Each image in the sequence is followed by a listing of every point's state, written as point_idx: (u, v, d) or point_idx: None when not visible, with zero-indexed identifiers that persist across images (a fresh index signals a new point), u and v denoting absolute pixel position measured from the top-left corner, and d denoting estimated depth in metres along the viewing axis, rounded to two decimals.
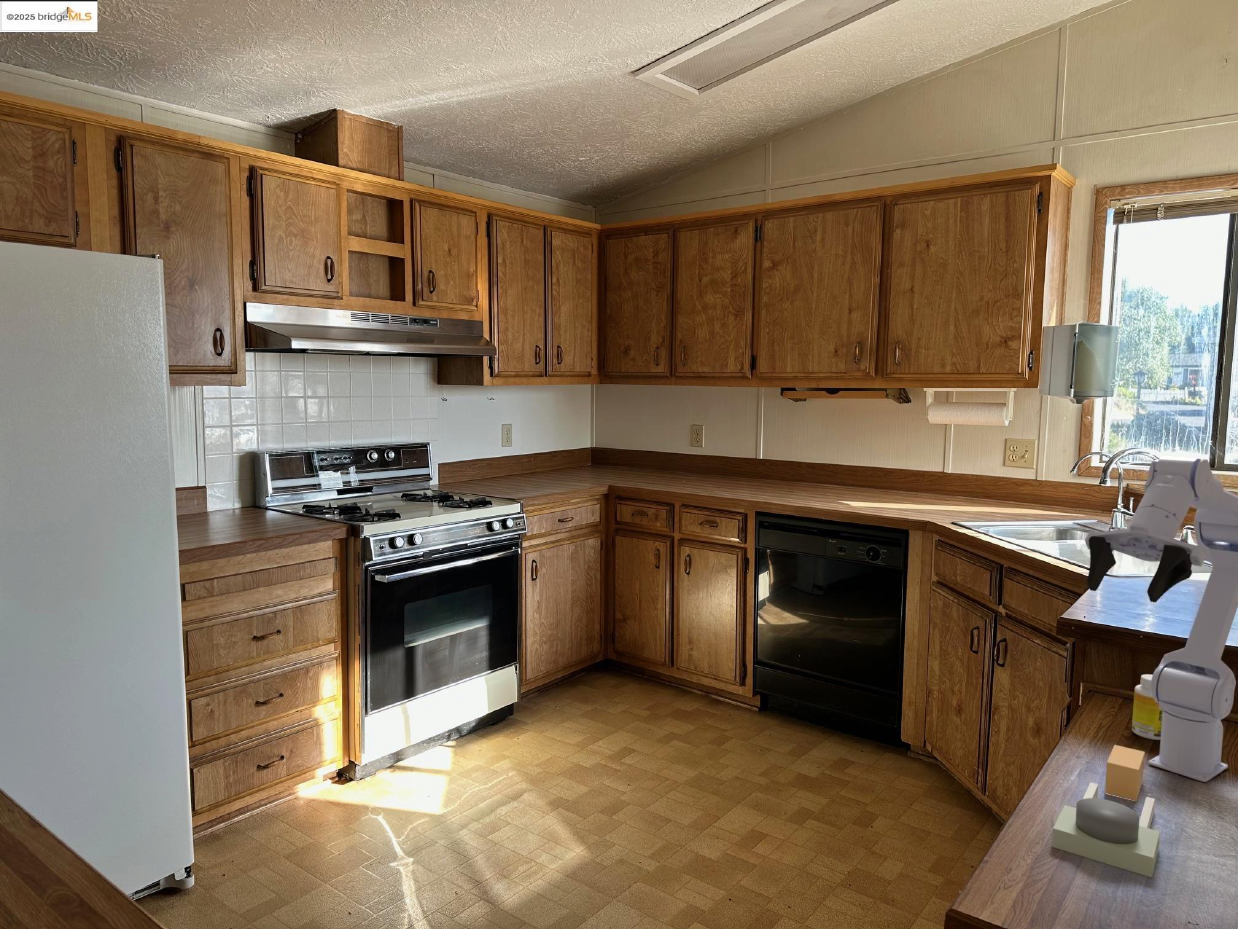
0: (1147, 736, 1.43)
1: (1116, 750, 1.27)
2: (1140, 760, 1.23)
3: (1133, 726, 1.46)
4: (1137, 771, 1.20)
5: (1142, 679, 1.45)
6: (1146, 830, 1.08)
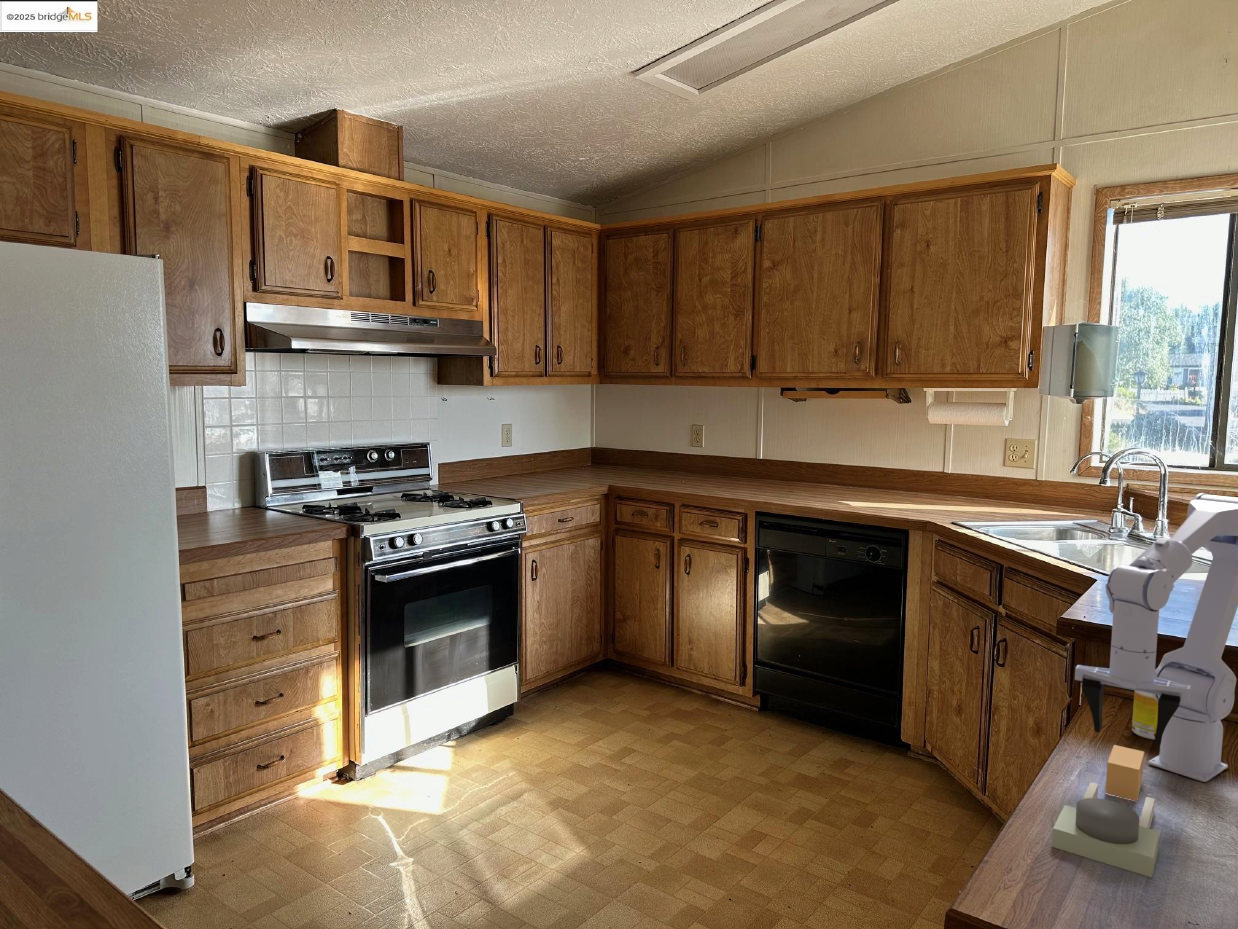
0: (1147, 736, 1.43)
1: (1116, 750, 1.27)
2: (1140, 760, 1.23)
3: (1133, 726, 1.46)
4: (1138, 771, 1.20)
5: None
6: (1146, 830, 1.08)
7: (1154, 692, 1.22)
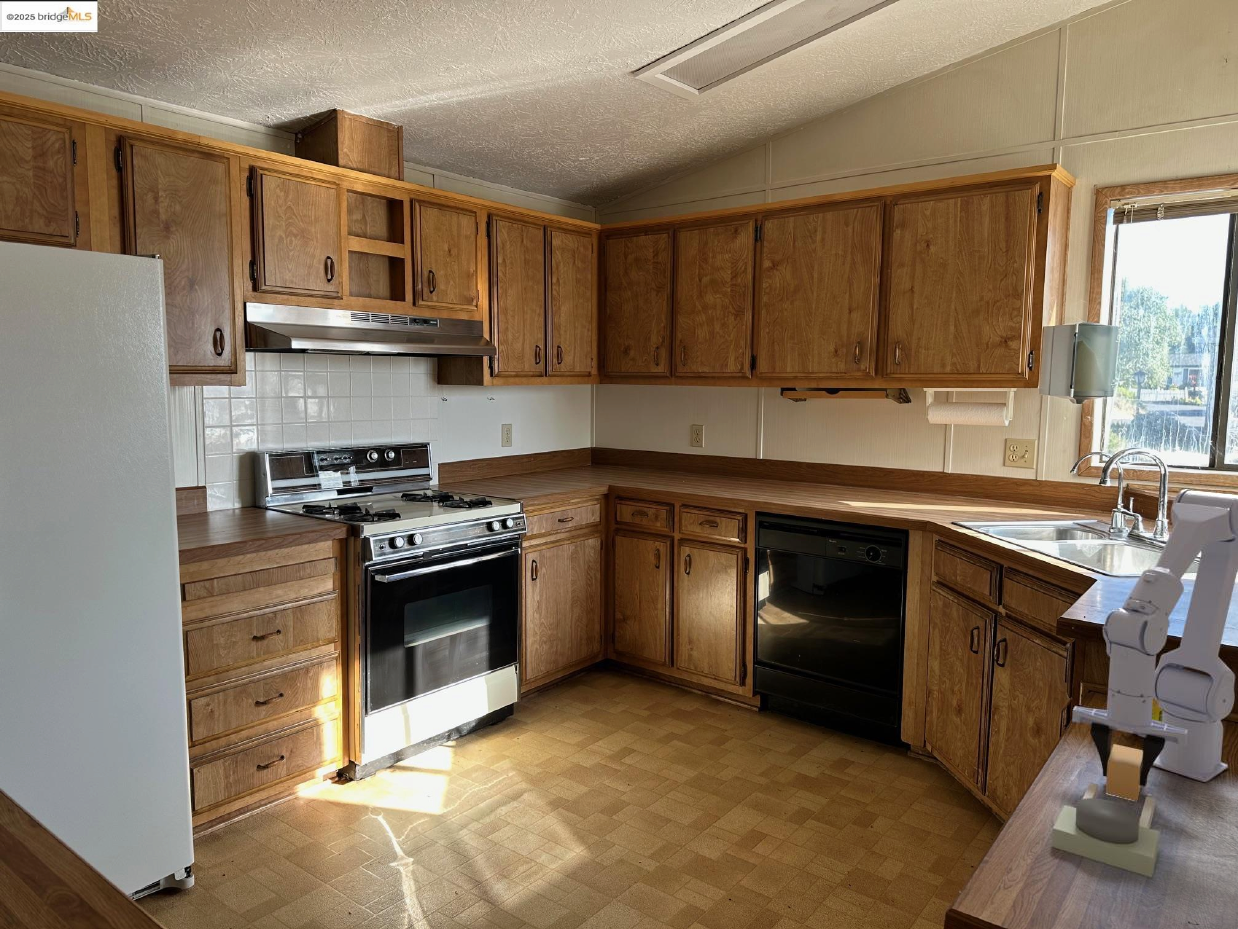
0: None
1: (1116, 749, 1.27)
2: (1140, 759, 1.23)
3: None
4: (1138, 770, 1.20)
5: None
6: (1146, 830, 1.08)
7: (1151, 736, 1.22)
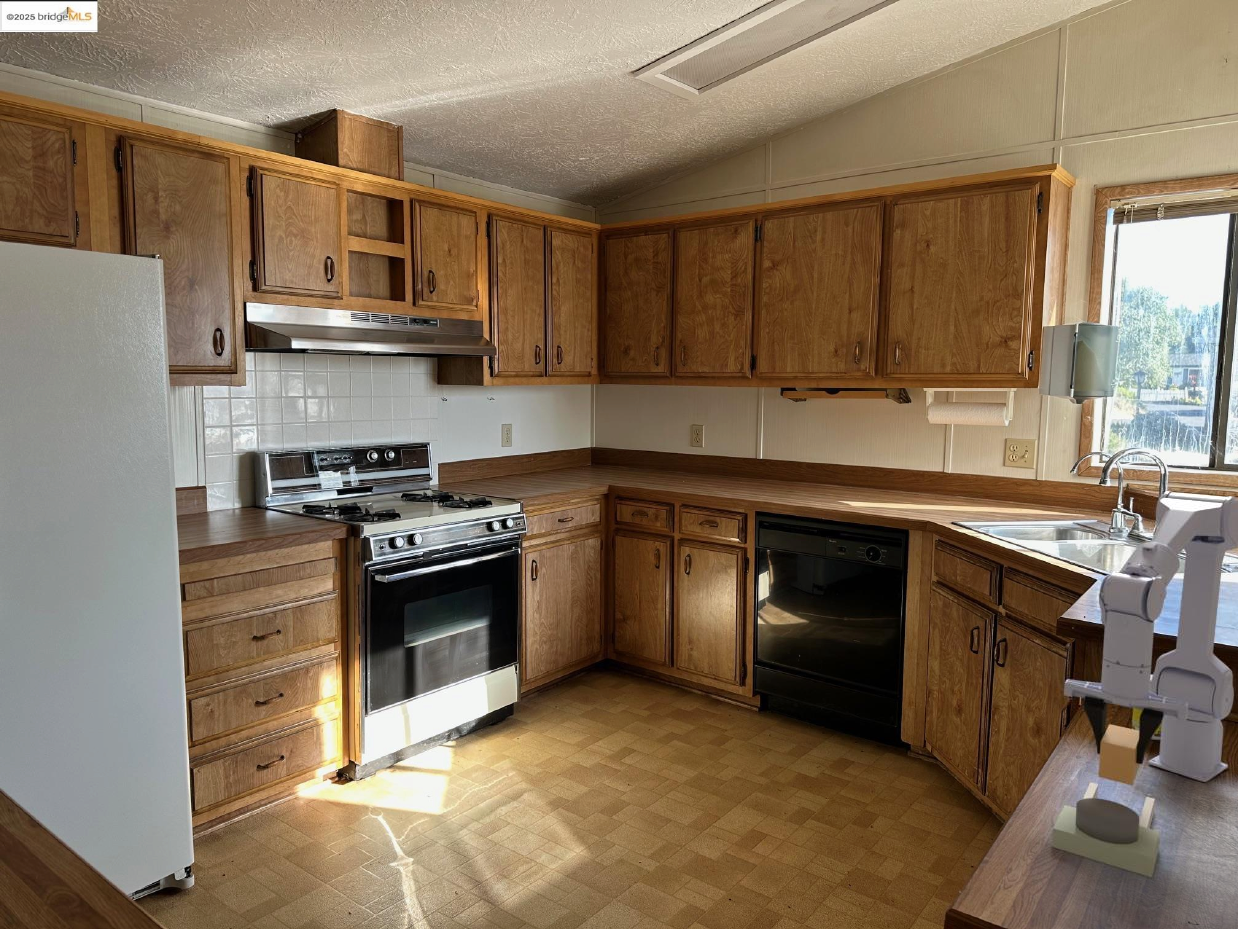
0: None
1: (1111, 730, 1.18)
2: (1137, 739, 1.14)
3: (1133, 726, 1.46)
4: (1133, 751, 1.11)
5: None
6: (1146, 830, 1.08)
7: None
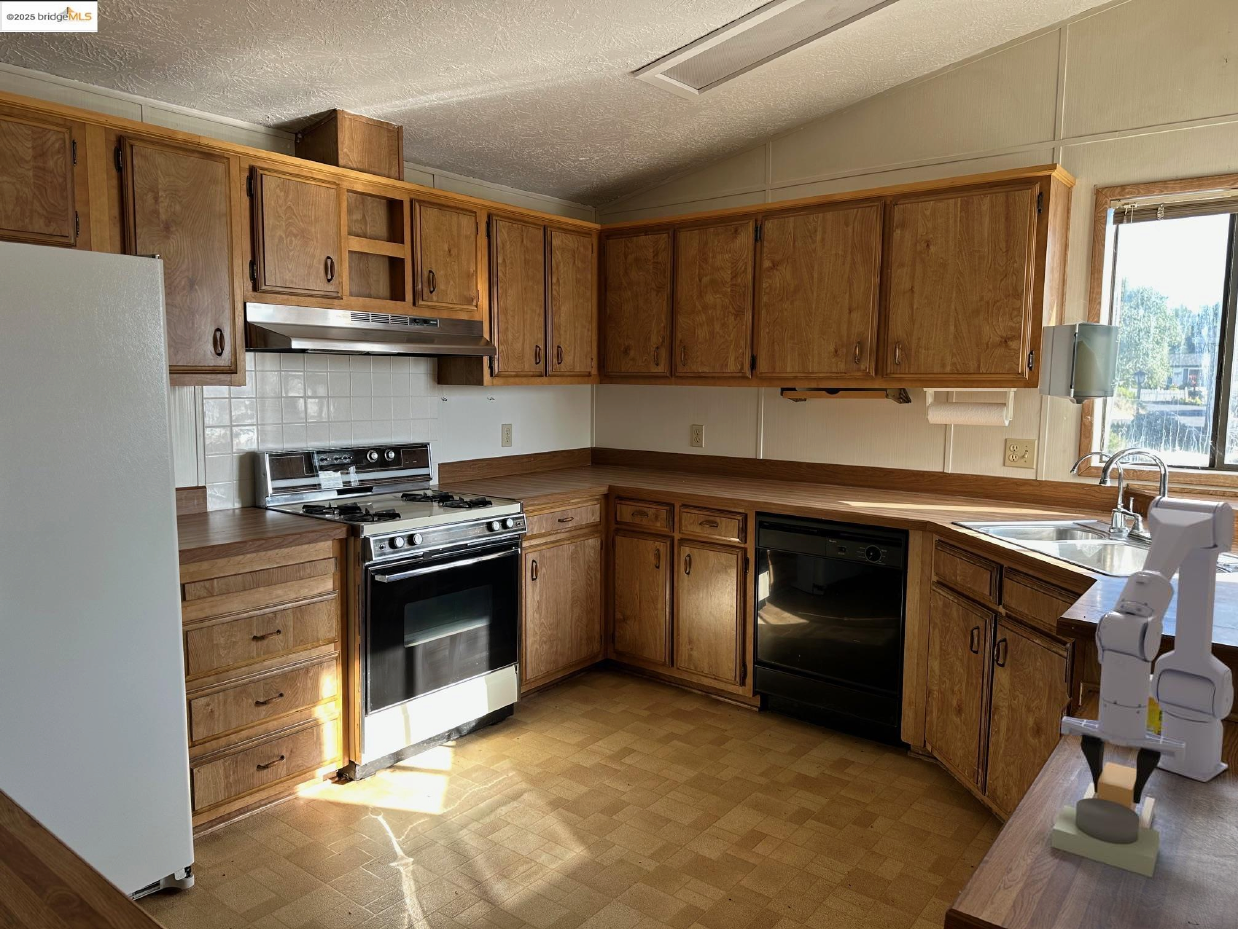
0: None
1: (1108, 768, 1.18)
2: (1134, 779, 1.14)
3: None
4: (1130, 791, 1.11)
5: None
6: (1146, 830, 1.08)
7: (1146, 749, 1.13)
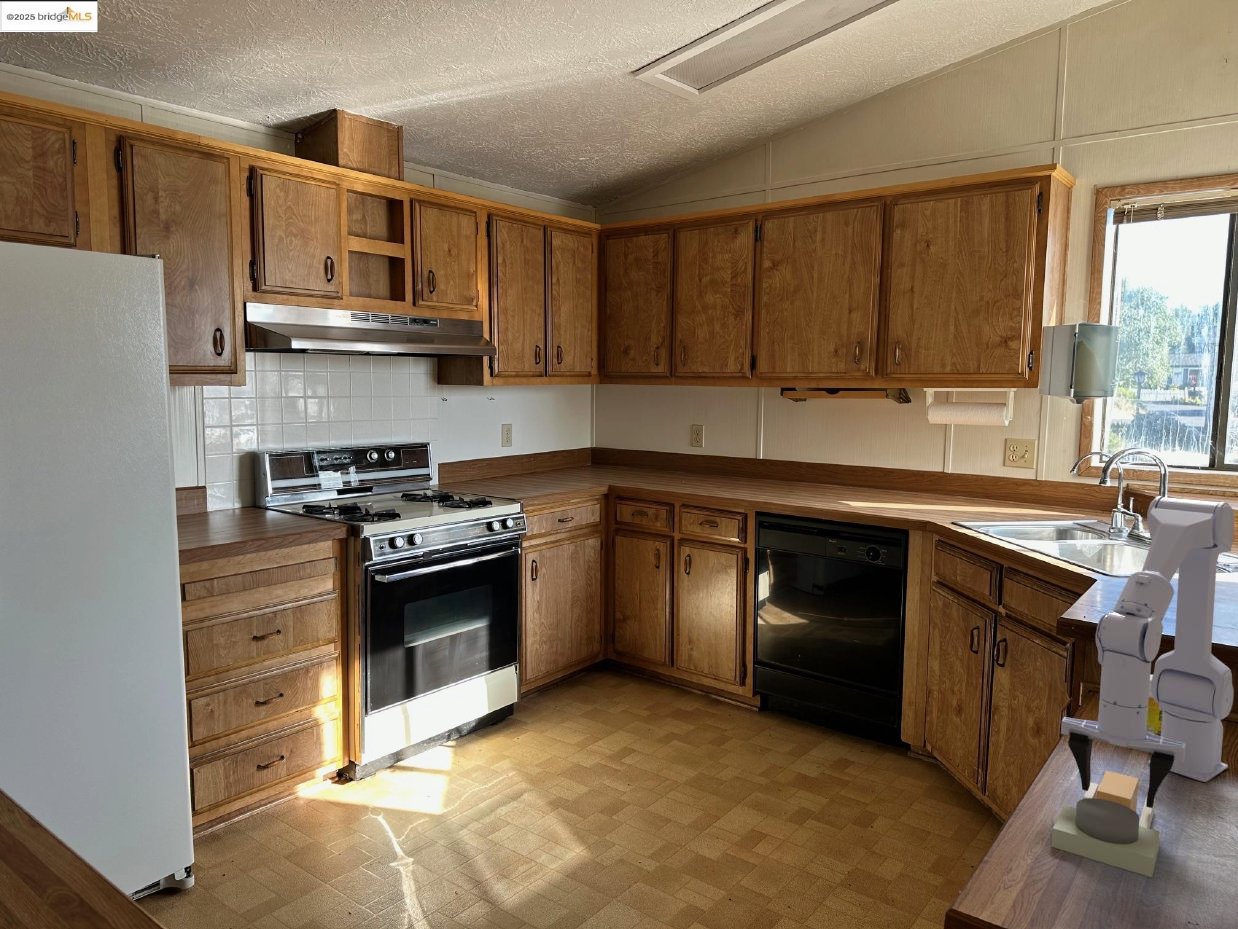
0: None
1: (1108, 777, 1.18)
2: (1133, 788, 1.14)
3: None
4: (1129, 801, 1.11)
5: None
6: (1146, 830, 1.08)
7: (1146, 750, 1.13)
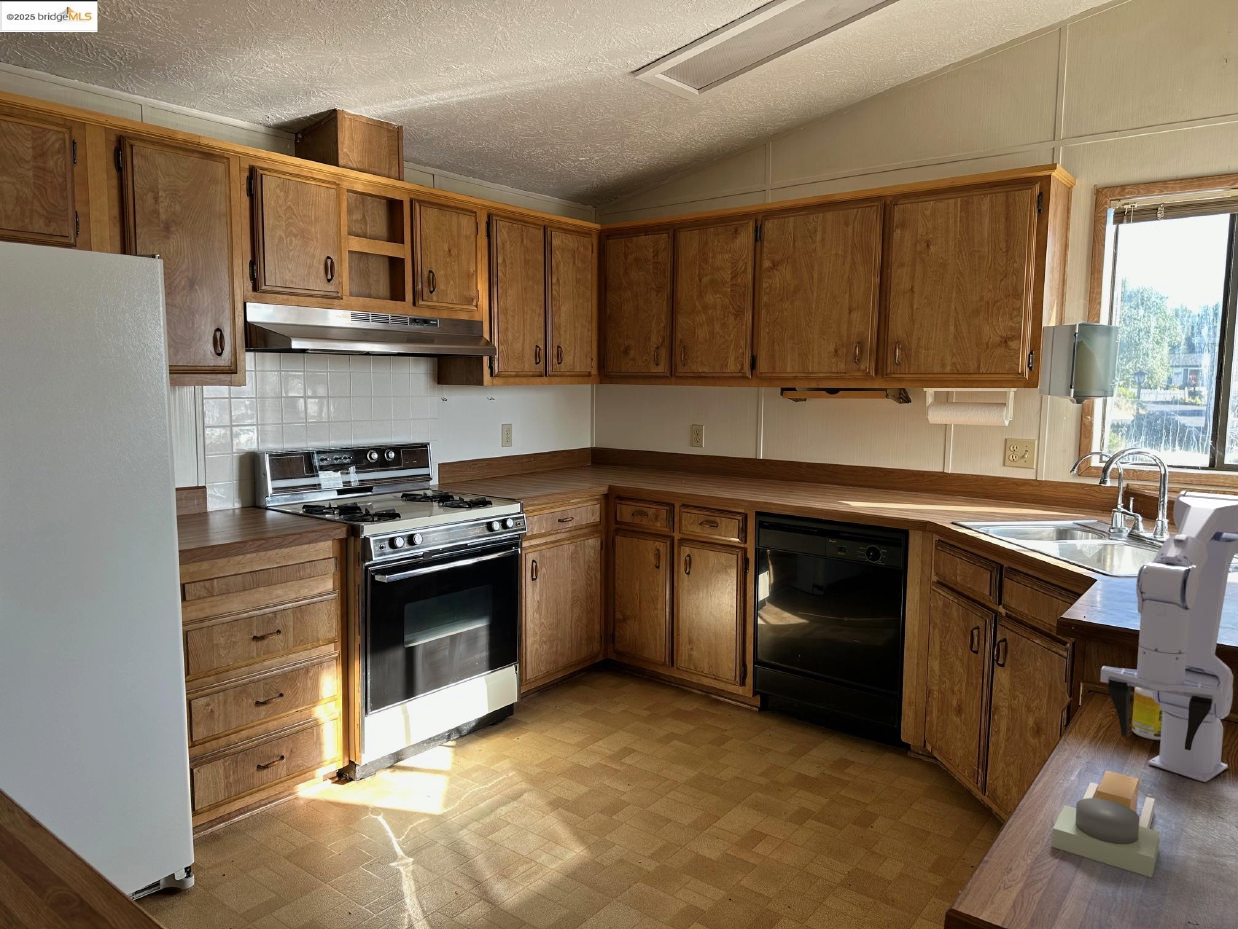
0: (1147, 736, 1.43)
1: (1108, 777, 1.18)
2: (1133, 788, 1.14)
3: (1133, 726, 1.46)
4: (1129, 801, 1.11)
5: None
6: (1146, 830, 1.08)
7: (1184, 694, 1.17)
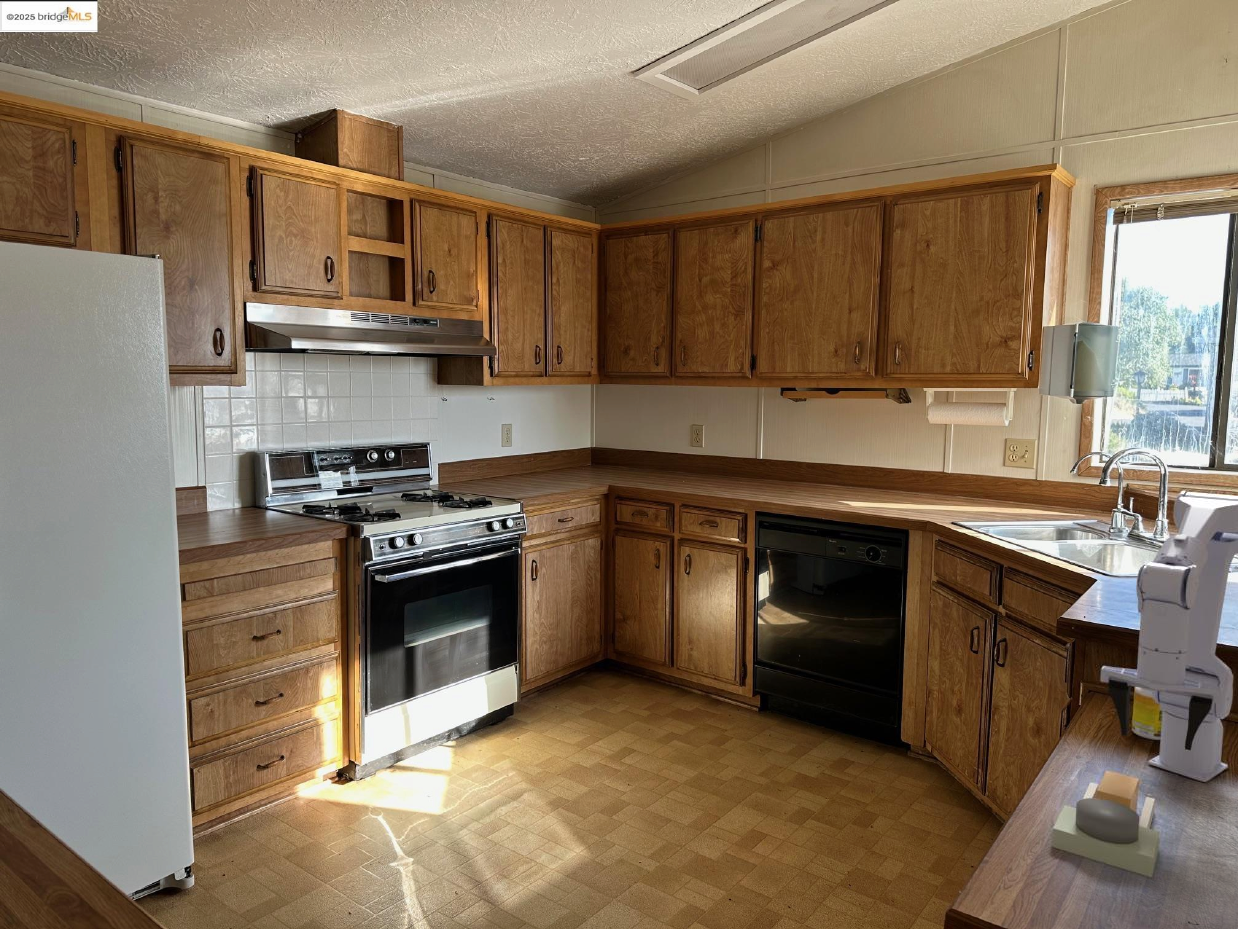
0: (1147, 736, 1.43)
1: (1108, 777, 1.18)
2: (1133, 788, 1.14)
3: (1133, 726, 1.46)
4: (1129, 801, 1.11)
5: None
6: (1146, 830, 1.08)
7: (1184, 694, 1.17)
